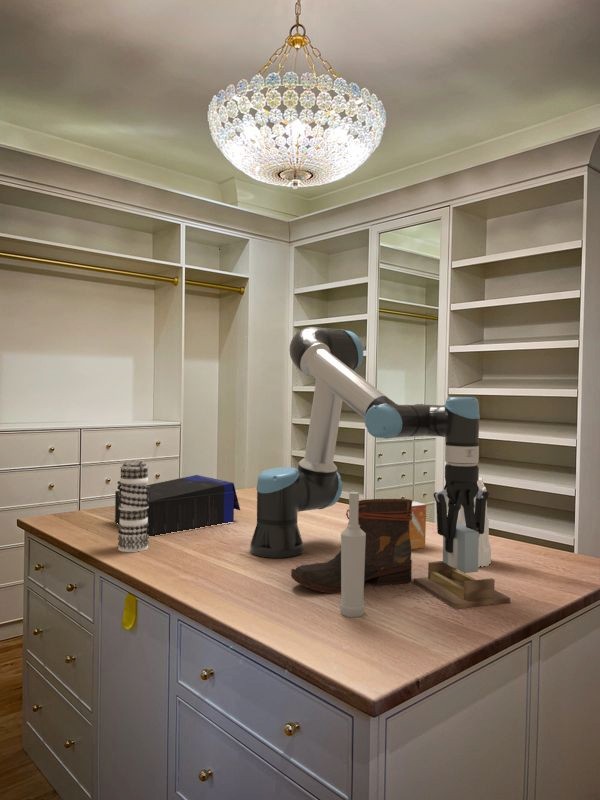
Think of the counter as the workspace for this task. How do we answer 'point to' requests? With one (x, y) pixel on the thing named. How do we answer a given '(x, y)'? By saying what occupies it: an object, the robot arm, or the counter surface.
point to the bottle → (352, 563)
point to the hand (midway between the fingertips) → (460, 565)
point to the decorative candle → (133, 507)
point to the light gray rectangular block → (465, 549)
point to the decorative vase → (484, 544)
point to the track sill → (459, 587)
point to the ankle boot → (370, 548)
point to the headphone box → (187, 504)
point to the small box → (417, 525)
